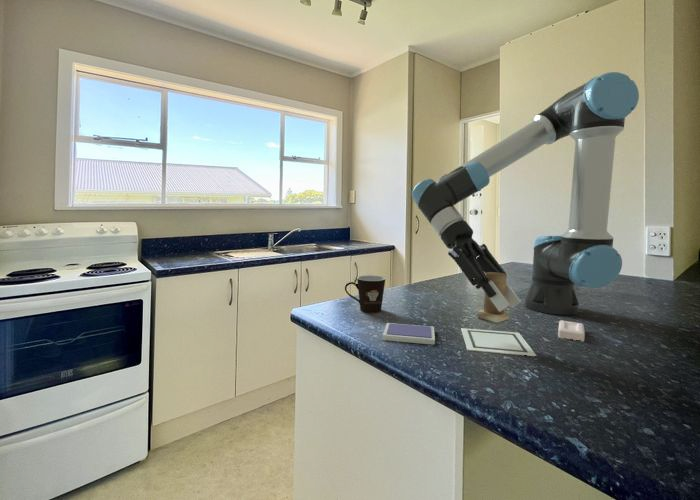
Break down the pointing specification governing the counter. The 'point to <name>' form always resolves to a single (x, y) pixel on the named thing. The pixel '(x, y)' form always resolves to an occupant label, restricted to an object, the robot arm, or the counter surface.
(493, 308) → the stamp
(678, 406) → the counter surface
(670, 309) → the counter surface
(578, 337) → the soap bar
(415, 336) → the ink pad
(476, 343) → the sheet
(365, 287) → the coffee mug
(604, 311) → the counter surface
